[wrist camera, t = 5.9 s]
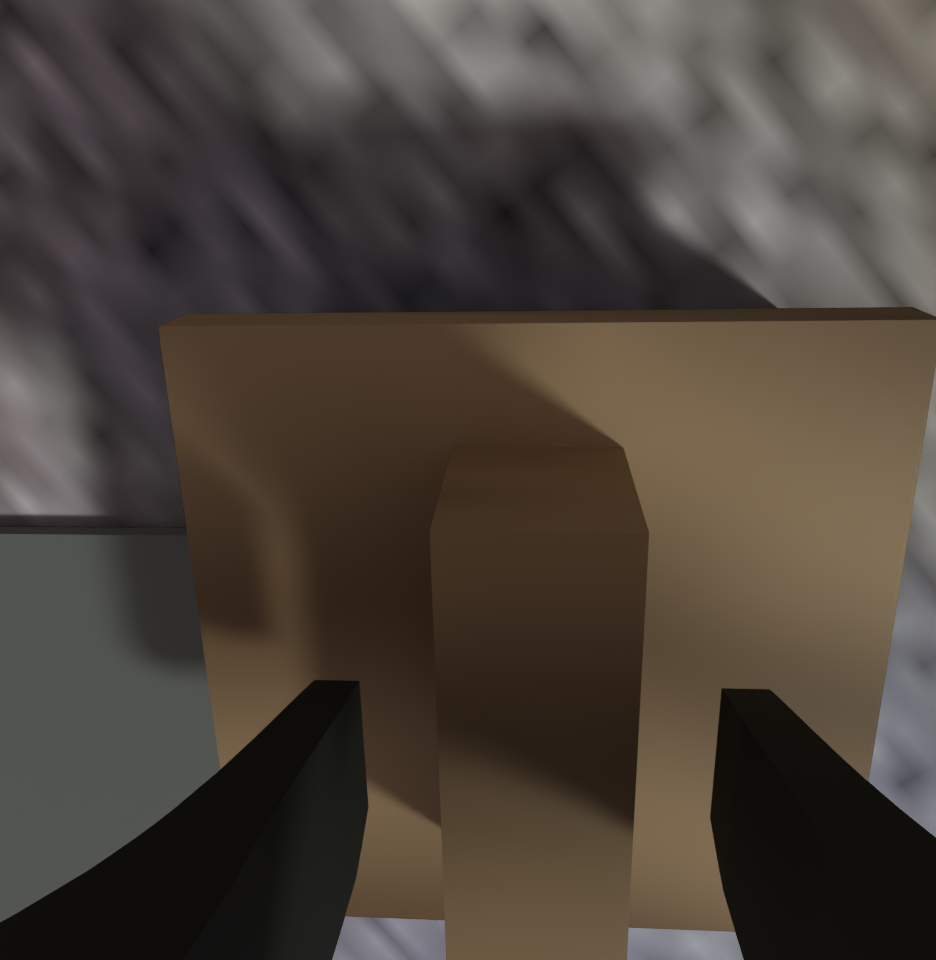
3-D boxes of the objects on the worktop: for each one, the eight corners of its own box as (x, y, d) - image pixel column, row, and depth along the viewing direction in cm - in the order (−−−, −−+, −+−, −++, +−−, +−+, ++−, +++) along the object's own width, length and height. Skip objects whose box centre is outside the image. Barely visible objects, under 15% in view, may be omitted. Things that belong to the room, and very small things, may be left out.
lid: (825, 890, 16) (913, 1112, 12) (256, 869, 17) (177, 1074, 13) (912, 307, 13) (1073, 373, 9) (184, 314, 13) (47, 378, 10)
